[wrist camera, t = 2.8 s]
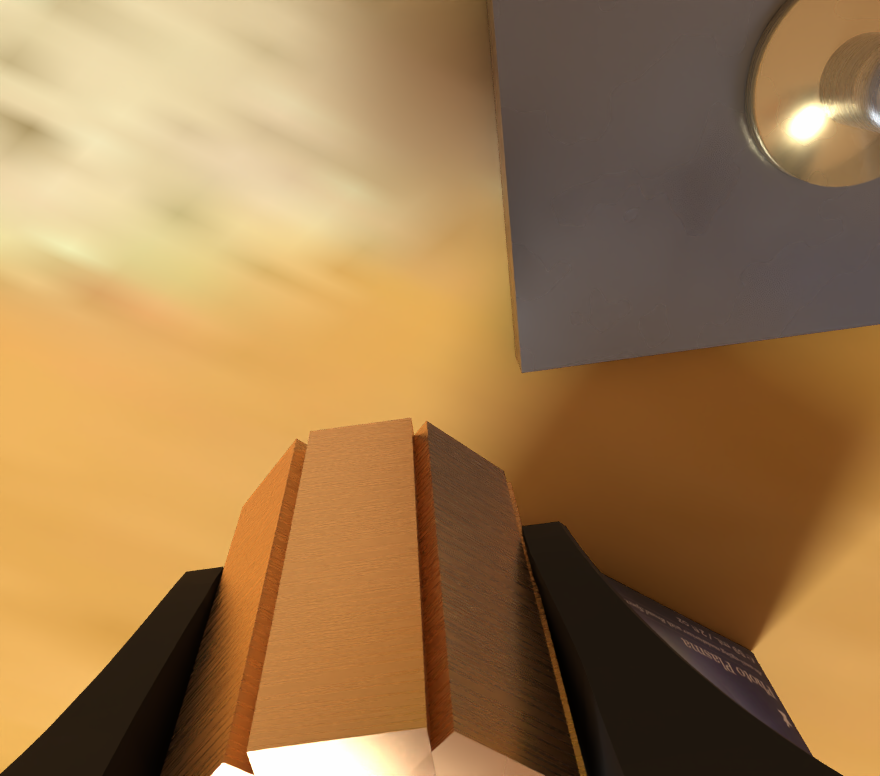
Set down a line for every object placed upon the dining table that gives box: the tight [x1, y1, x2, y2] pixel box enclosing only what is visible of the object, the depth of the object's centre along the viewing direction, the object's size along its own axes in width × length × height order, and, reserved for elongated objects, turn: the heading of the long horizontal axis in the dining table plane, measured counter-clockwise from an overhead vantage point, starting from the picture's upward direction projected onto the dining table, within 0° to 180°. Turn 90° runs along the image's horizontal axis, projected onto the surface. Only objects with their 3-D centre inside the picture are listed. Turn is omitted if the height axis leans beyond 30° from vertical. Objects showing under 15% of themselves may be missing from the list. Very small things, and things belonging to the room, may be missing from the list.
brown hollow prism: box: [160, 418, 587, 776], centre depth 11 cm, size 5×5×6 cm
